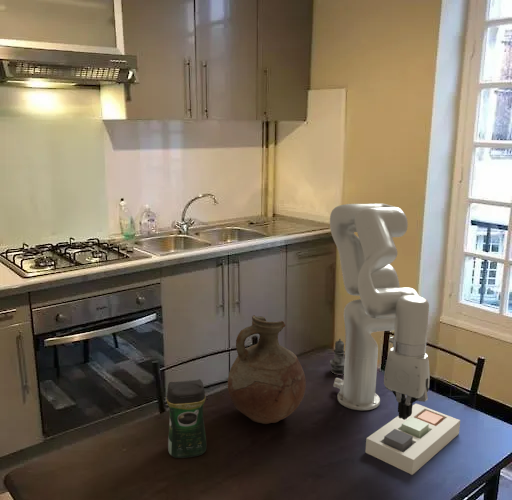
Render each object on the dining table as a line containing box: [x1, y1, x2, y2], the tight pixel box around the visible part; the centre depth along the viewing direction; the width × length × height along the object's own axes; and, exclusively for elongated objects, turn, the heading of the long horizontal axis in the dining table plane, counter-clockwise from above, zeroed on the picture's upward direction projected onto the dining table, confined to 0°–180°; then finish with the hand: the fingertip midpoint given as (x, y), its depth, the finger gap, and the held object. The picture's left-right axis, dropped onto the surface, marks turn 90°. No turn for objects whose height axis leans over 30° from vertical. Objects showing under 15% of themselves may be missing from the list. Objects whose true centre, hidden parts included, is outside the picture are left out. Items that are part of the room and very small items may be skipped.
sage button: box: [401, 417, 429, 439], centre depth 143 cm, size 5×5×2 cm
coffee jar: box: [165, 378, 207, 459], centre depth 137 cm, size 10×8×19 cm
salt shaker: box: [329, 338, 345, 374], centre depth 184 cm, size 6×6×12 cm
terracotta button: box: [417, 411, 443, 426], centre depth 150 cm, size 5×5×2 cm
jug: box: [227, 314, 307, 425], centre depth 152 cm, size 22×22×30 cm
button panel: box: [365, 403, 461, 476], centre depth 144 cm, size 13×26×4 cm, turn 136°
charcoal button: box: [384, 429, 413, 452], centre depth 137 cm, size 5×5×2 cm
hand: (404, 416), depth 137 cm, fingers closed
